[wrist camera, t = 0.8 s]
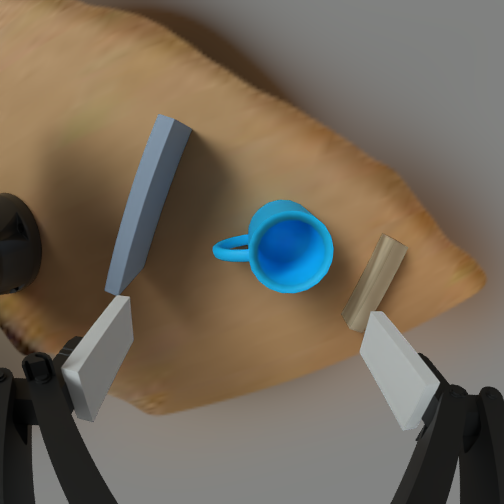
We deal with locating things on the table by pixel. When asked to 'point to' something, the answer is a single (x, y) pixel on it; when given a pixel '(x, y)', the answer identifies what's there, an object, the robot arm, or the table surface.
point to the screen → (146, 201)
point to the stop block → (373, 282)
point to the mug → (282, 247)
